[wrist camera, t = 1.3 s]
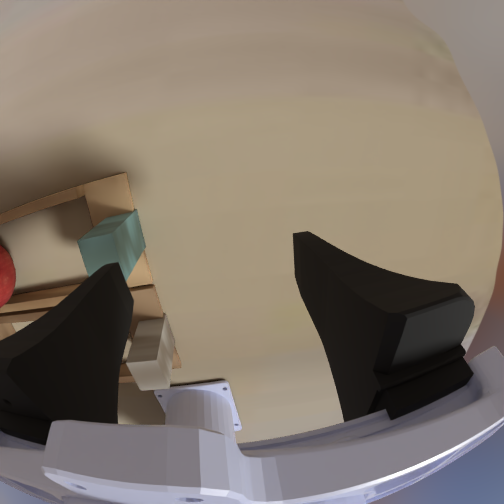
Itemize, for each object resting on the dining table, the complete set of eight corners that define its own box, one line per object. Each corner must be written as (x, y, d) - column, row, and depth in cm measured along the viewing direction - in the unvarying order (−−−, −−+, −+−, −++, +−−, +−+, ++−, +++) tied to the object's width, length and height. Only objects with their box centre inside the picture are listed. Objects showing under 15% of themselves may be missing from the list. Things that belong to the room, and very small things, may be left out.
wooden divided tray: (155, 279, 22) (140, 321, 17) (-3, 305, 21) (-32, 335, 15) (128, 171, 19) (100, 182, 14) (-31, 227, 18) (-68, 248, 12)
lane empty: (183, 363, 26) (180, 410, 20) (33, 370, 24) (14, 405, 19) (156, 284, 23) (142, 326, 17) (-2, 308, 21) (-30, 339, 15)
